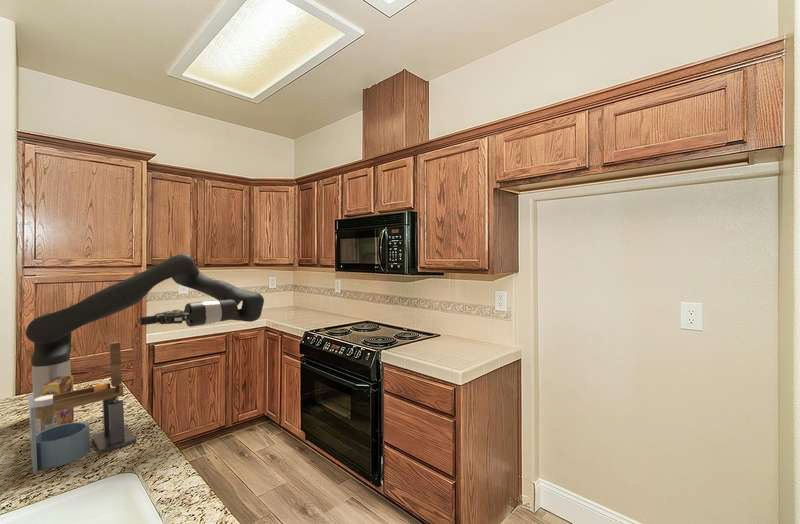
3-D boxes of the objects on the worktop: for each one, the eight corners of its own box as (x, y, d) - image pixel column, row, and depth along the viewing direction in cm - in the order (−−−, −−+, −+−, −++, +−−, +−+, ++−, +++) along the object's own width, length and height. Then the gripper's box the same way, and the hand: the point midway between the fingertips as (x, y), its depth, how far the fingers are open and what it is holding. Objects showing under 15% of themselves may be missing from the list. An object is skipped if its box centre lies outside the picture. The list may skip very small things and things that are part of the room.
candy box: (61, 435, 108) (58, 383, 108) (42, 438, 107) (39, 385, 107) (75, 422, 117) (73, 374, 116) (58, 425, 115) (56, 376, 115)
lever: (53, 409, 98) (50, 350, 98) (118, 394, 108) (116, 340, 108) (55, 417, 94) (52, 354, 93) (123, 400, 104) (121, 343, 104)
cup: (31, 457, 97) (28, 396, 96) (86, 441, 105) (83, 384, 105) (33, 474, 89) (30, 408, 89) (92, 455, 97) (90, 394, 97)
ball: (91, 394, 102) (91, 384, 102) (104, 391, 105) (103, 380, 105) (97, 396, 101) (97, 385, 101) (110, 392, 104) (109, 382, 104)
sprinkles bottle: (56, 446, 102) (54, 397, 102) (33, 451, 100) (31, 401, 100) (60, 439, 106) (58, 392, 106) (38, 444, 104) (36, 396, 103)
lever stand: (92, 438, 106) (90, 393, 106) (126, 428, 112) (125, 385, 112) (99, 454, 98) (97, 404, 98) (136, 442, 104) (134, 395, 104)
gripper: (195, 300, 127) (134, 306, 114) (210, 303, 118) (145, 310, 105) (196, 322, 127) (135, 331, 114) (211, 327, 118) (146, 337, 105)
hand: (140, 321), depth 110 cm, fingers closed
